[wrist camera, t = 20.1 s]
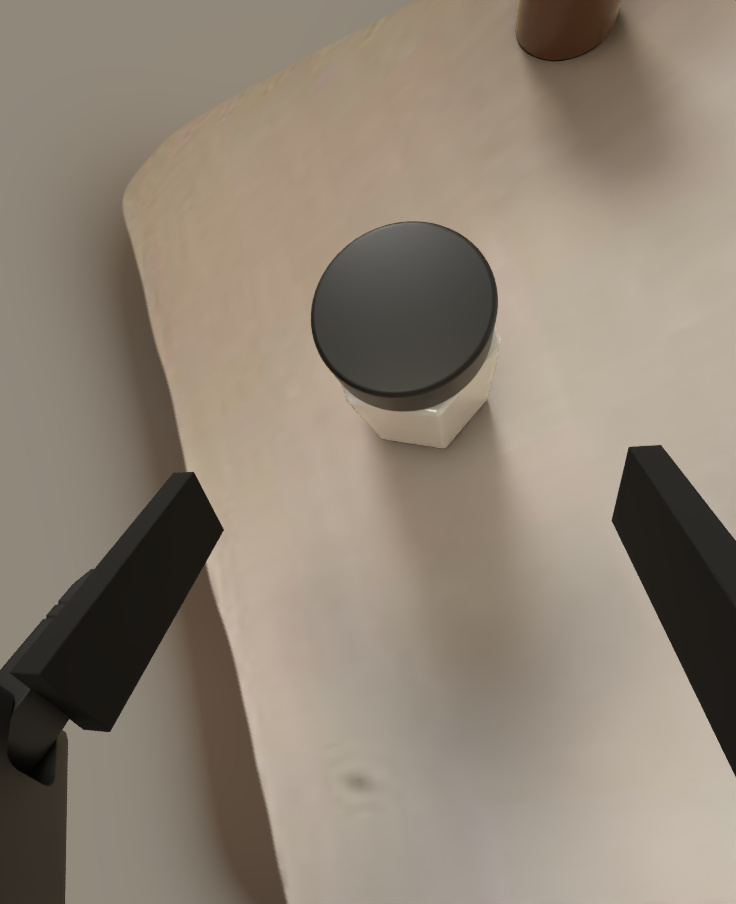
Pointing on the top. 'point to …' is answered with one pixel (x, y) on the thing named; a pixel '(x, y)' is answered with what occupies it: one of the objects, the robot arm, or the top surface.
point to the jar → (410, 330)
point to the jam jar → (564, 26)
